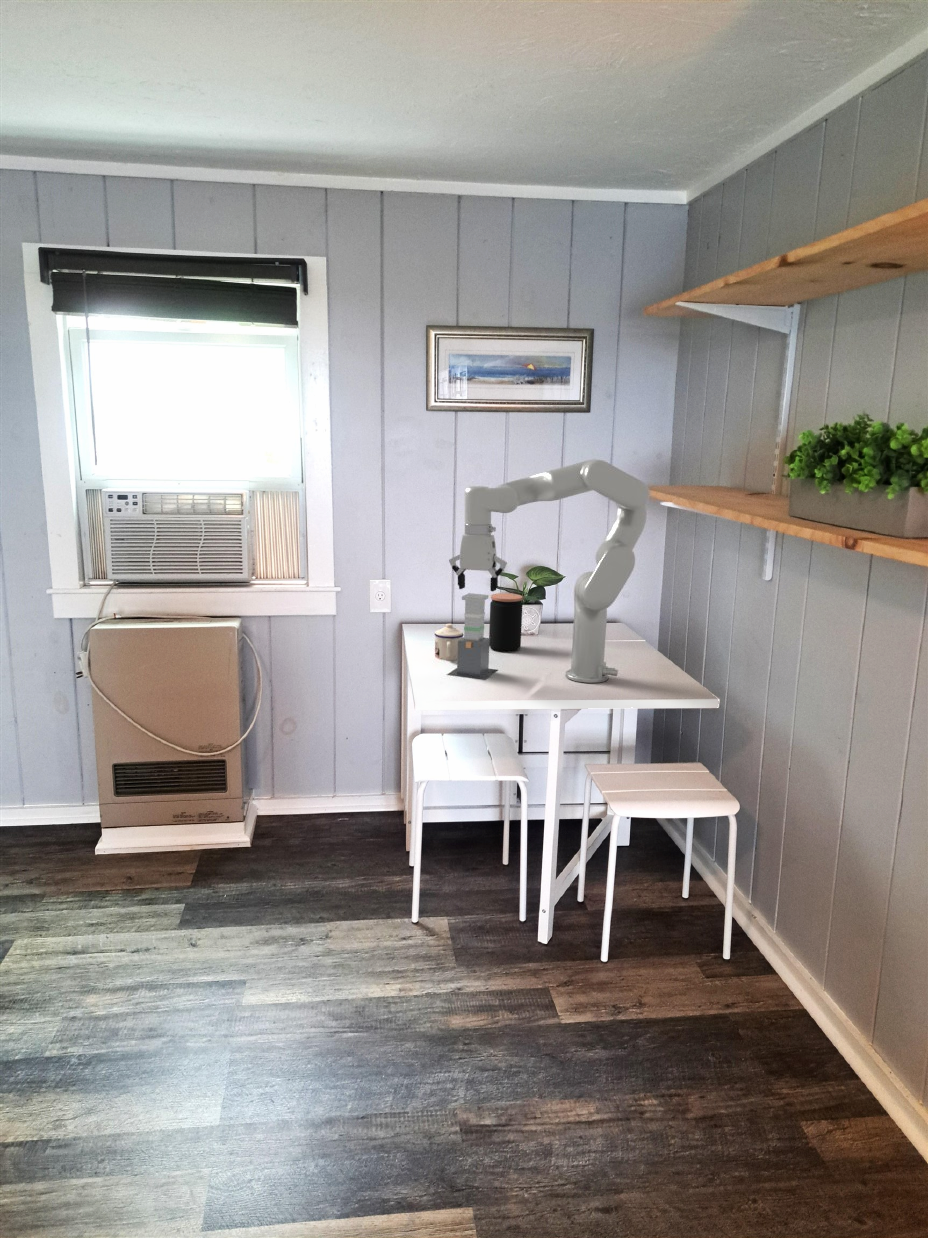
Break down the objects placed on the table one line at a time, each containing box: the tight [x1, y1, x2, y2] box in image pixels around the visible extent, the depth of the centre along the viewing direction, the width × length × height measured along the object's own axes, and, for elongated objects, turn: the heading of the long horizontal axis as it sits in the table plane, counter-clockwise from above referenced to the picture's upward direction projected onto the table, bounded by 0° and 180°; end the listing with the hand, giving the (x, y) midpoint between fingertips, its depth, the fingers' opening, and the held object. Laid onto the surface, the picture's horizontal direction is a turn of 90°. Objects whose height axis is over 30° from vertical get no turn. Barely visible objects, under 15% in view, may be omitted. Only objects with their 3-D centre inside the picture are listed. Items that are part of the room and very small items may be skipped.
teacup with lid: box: [434, 623, 464, 661], centre depth 262 cm, size 12×9×12 cm
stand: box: [446, 636, 499, 681], centre depth 247 cm, size 12×12×11 cm
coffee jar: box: [488, 592, 524, 653], centre depth 280 cm, size 11×11×18 cm
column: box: [461, 592, 489, 642], centre depth 245 cm, size 6×6×17 cm
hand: (477, 589), depth 243 cm, fingers open, 9 cm apart
